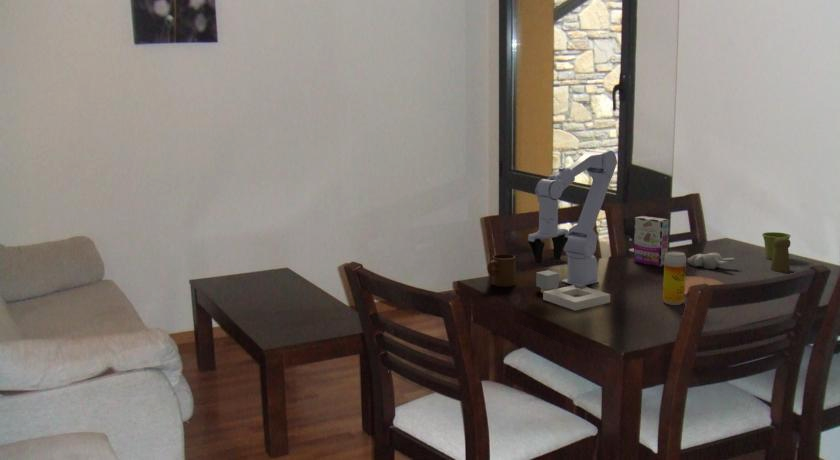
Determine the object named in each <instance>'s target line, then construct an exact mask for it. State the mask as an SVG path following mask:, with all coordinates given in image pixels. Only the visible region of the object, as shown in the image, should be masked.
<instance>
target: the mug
mask: <svg viewBox="0 0 840 460" xmlns="http://www.w3.org/2000/svg"><path fill="white" fill-rule="evenodd" d="M516 268H517V262H516V256H515V255H513V254H510V253H499V254H493V255H492V260H491V261H489V262H488V264H487V268H486V269H487V273H488V274H489V276H491V277H492V279H491V280H492V284H493V286H495V287H499V288H510V287H513V286H515V285H516V279H517V276H516V275H517V269H516Z"/></svg>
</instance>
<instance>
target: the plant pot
mask: <svg viewBox="0 0 840 460" xmlns="http://www.w3.org/2000/svg"><path fill="white" fill-rule="evenodd" d="M761 236H762V237H763V240H764V241H763V242H764V248H765V249H764V251H765V252H764V253H765V258H766V259H767V260H772V259H773V255H774V250H775V246H774V240H775V239H776V238H787V239H789V240H790V238H791V236H792V235H791V234H788V233H784V232H778V231H777V232H769V231H768V232H763V233H762V235H761Z"/></svg>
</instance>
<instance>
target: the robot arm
mask: <svg viewBox="0 0 840 460" xmlns="http://www.w3.org/2000/svg"><path fill="white" fill-rule="evenodd" d="M617 165H618V160H617V156H616V153H615V151H613V150H609V149H608V150H607V149H606V150H605V149H594V148H587V149H585V150H584V151H582V152H581V153H580V157H578V159H577V160H575V161H574V162H573V163H572V164H571V165H570V166H569V167H566V166H560V167H559V168H558V170H557V171H555V172H554V173H553V174H551V175H549V176H548V177H547V178H542V179H540V180H539V181H538V182H537V184H536V186H535V189H534V191H535V196H537V202H538V230H537V231H536V232H533V233H529V234H527V240H528V242H527V243H528V245H529V246H530V248H531V250H532V253H533V256H534V261H535V263H536V264H542V262H543V251H544V247H545V245H546V243H545V242H543V241H542V240H547V239H551V241H552V246H553V259H555V260H558V261H560V260H561V257H562V254H563V251H564V252H565V256H567V273H566V274H567V278H564V279H561V282H562V283H566V284H569V285H570V286H572V285H574V284H578V283H580V284H583V285H586V286H587V285H591V284H595V283H596V284H597V283H599V282H600V280H599V279H598V268H599V267H598V259H597V257H596V256H595V255H594V254H595V252H596V250H597V243H598V242H597V241H598V239H599V236H598V235H597V233H596V232H595V230H594V228H595V226H596V222H597V221H598V218H599V214H600V212H601V209H602V205H603V203H604V200H605V197H606V195H607V192H608V189H609V186H610V184H611V179H612V178H613V176H614V172H615V171H616V168H617ZM585 171H586V172H587V175H589V176H590V177H591V179H592V182H591V185H590V188H589V191H588V193H587V196H586V199H585V200H584V201H585V202H584V204H583V208H582V210H581V213H580V216H579V219H578V221H577V224H575V225H573V226H572V227H570V228H568V229H565V228H560V229H559V227H558V225H559V224H558V223H559V199H560V198H561V197H562V194H563V192H564V191H565V189H566V188H568V187H569V186H570V185H572V184H573V183H574V182H575V179H576V177H577V176H578V175H580V174H582V173H583V172H585Z"/></svg>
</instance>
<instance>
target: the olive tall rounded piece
mask: <svg viewBox="0 0 840 460" xmlns="http://www.w3.org/2000/svg"><path fill="white" fill-rule="evenodd" d="M774 246H775V250H774V255H773V259H771V260H772V261H771V265H770V270H771V271H772V272H779V273H788V272H790V270H791V268H790V257H789V256H790V253H789V248H790V246H791V240H790V238H789V239H787V238H776V239H775V240H774Z"/></svg>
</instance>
